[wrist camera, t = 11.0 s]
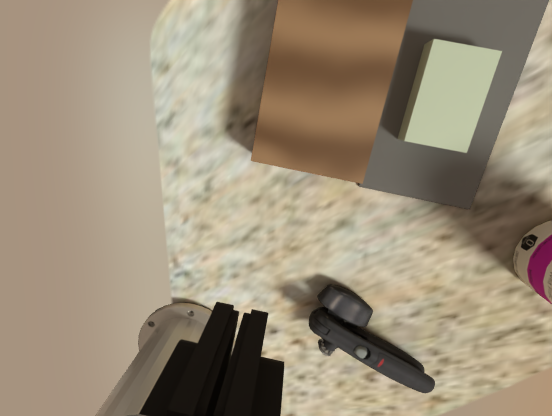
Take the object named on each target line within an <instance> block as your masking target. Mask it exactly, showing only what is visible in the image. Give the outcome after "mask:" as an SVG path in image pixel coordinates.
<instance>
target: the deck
mask: <svg viewBox="0 0 552 416" xmlns="http://www.w3.org/2000/svg"><path fill="white" fill-rule="evenodd" d="M412 2H413V0H278V4H277V10H276V16H275V22H274V28H273V34H272V39H271V45H270V51H269V57H268V63H267V69H266V75H265V80H264V86H263V92H262V98H261V104H260V110H259V116H258V122H257V127H256V133H255V139H254V145H253V151H252V157H251V161H254V162H259V163H264V164H269V165H274V166H278V167H283V168H288V169H293V170H298V171H303V172H308V173H312V174H317V175H322V176H327V177H332V178H337V179H342V180H346V181H351V182H356V183H361V184H363V181H364V177H365V173H366V170H367V166H368V162H369V159H370V155H371V151H372V148H373V144H374V141H375V137H376V133H377V130H378V126H379V122H380V119H381V115H382V111H383V108H384V104H385V100H386V97H387V93H388V90H389V86H390V82H391V79H392V75H393V71H394V68H395V64H396V60H397V57H398V53H399V49H400V46H401V42H402V39H403V35H404V31H405V28H406V24H407V20H408V17H409V13H410V9H411V6H412Z"/></svg>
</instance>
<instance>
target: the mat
mask: <svg viewBox="0 0 552 416" xmlns="http://www.w3.org/2000/svg"><path fill="white" fill-rule="evenodd" d="M548 2H549V0H413V2H412V6H411V9H410V13H409V17H408V20H407V24H406V28H405V31H404V35H403V39H402V42H401V46H400V49H399V53H398V57H397V60H396V64H395V68H394V71H393V75H392V79H391V82H390V86H389V90H388V93H387V97H386V100H385V104H384V108H383V111H382V115H381V119H380V122H379V126H378V130H377V133H376V137H375V141H374V144H373V148H372V151H371V155H370V159H369V162H368V166H367V170H366V173H365V177H364V181H363V184H361V183H359V187H363V188H368V189H373V190H378V191H383V192H387V193H392V194H397V195H402V196H407V197H412V198H417V199H421V200H426V201H431V202H436V203H441V204H446V205H451V206H455V207H460V208H465V209H470V207H471V205H472V202H473V199H474V197H475V194H476V191H477V189H478V186H479V183H480V181H481V178H482V176H483V173H484V170H485V168H486V165H487V162H488V160H489V157H490V154H491V152H492V149H493V147H494V144H495V141H496V139H497V136H498V133H499V131H500V128H501V125H502V123H503V120H504V118H505V115H506V112H507V110H508V107H509V104H510V102H511V99H512V96H513V94H514V91H515V89H516V86H517V83H518V81H519V78H520V75H521V73H522V70H523V67H524V65H525V62H526V60H527V57H528V54H529V52H530V49H531V46H532V44H533V41H534V38H535V36H536V33H537V31H538V28H539V25H540V23H541V20H542V17H543V15H544V12H545V9H546V7H547V4H548ZM433 39H438V40H444V41H449V42H455V43H460V44H466V45H471V46H477V47H482V48H488V49H493V50H498V51H502V53H501V56H500V59H499V62H498V65H497V68H496V70H495V73H494V76H493V79H492V82H491V85H490V88H489V91H488V93H487V96H486V99H485V102H484V105H483V108H482V111H481V114H480V116H479V119H478V122H477V125H476V128H475V131H474V134H473V137H472V139H471V142H470V145H469V148H468V151H467V153H464V152H459V151H454V150H448V149H443V148H438V147H433V146H428V145H422V144H417V143H412V142H407V141H402V140H399V139H398V136H399V132H400V129H401V125H402V122H403V118H404V115H405V111H406V107H407V104H408V100H409V97H410V93H411V90H412V86H413V83H414V79H415V76H416V72H417V69H418V65H419V62H420V58H421V55H422V51H423V48H424V44H426V43H427V42H429V41H431V40H433Z"/></svg>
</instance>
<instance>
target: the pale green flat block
mask: <svg viewBox="0 0 552 416" xmlns="http://www.w3.org/2000/svg"><path fill="white" fill-rule="evenodd" d="M501 53H502V51H498V50H493V49H488V48H482V47H477V46H471V45H466V44H460V43H455V42H449V41H444V40H438V39H433V40H431V41H429V42H427V43H426V44H424V48H423V51H422V55H421V58H420V62H419V65H418V69H417V72H416V76H415V79H414V83H413V86H412V90H411V93H410V97H409V100H408V104H407V107H406V111H405V115H404V118H403V122H402V125H401V129H400V132H399V136H398V139H399V140H402V141H407V142H412V143H417V144H422V145H428V146H433V147H438V148H443V149H448V150H454V151H459V152H464V153H467V151H468V148H469V145H470V142H471V139H472V137H473V134H474V131H475V128H476V125H477V122H478V119H479V116H480V114H481V111H482V108H483V105H484V102H485V99H486V96H487V93H488V91H489V88H490V85H491V82H492V79H493V76H494V73H495V70H496V68H497V65H498V62H499V59H500V56H501Z"/></svg>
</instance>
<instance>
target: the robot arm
mask: <svg viewBox="0 0 552 416" xmlns="http://www.w3.org/2000/svg"><path fill="white" fill-rule="evenodd" d="M233 308H234V305H230V304H225V303H220V302H216V304H215V306H214V309H213V311H210V310H209V309H206V308H204V307H202V306H199V305H195V304H190V303H174V304H170V305H166V306H163V307H162V308H159V309H157V310H156V311H155V312H154V313H152V314H151V315H150V316H149V318H148V319H147V320H146V321H145V323H144V325H143V326H142V328H141V330H140V334H139V341H138V345H139V351H140V352H139V353H138V354H137V356H136V357H135V359H134V360H133V362H132V363H131V365H130V366H129V367H128V369H127V370H126V372H125V373H124V375H123V376H122V378H121V379H120V380H119V382H118V383H117V385H116V386H115V388H114V389H113V391H112V392H111V394H110V395H109V396H108V398H107V399H106V401H105V402H104V404H103V405H102V407H101V408H100V410H99V411H98V412H97V414H96V415H95V416H280V414H281V401H282V388H283V375H284V362H282V361H278V360H273V359H269V358H264V357H261V351H262V346H263V340H264V335H265V329H266V323H267V318H268V313H266V312H262V311H257V310H253V309H252V311H251V314H249V313H244V315H243V318H242V321H241V325H240V328H239V331H238V335H237V338H236V341H234V337H235V332H236V327H237V321H238V316H239V311H235V310H233Z"/></svg>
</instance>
